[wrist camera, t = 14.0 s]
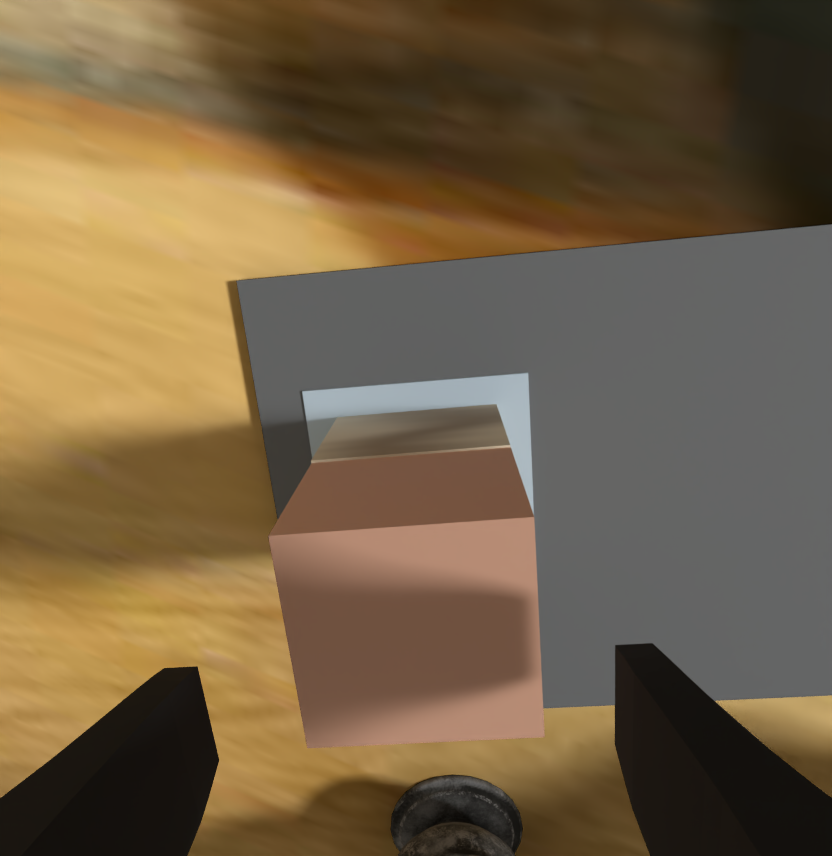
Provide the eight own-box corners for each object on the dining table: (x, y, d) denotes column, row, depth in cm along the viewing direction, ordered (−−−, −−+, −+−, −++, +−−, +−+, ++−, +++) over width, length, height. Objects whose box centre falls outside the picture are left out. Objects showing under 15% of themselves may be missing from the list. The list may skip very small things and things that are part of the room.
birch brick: (496, 404, 19) (510, 445, 15) (505, 548, 20) (520, 620, 16) (337, 417, 19) (310, 460, 15) (356, 558, 21) (337, 630, 17)
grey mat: (929, 215, 17) (944, 214, 17) (863, 685, 22) (872, 695, 21) (240, 280, 18) (235, 281, 18) (314, 710, 23) (311, 720, 23)
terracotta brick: (510, 447, 15) (534, 517, 11) (520, 621, 16) (544, 736, 13) (311, 462, 15) (268, 535, 11) (338, 632, 17) (307, 748, 13)
